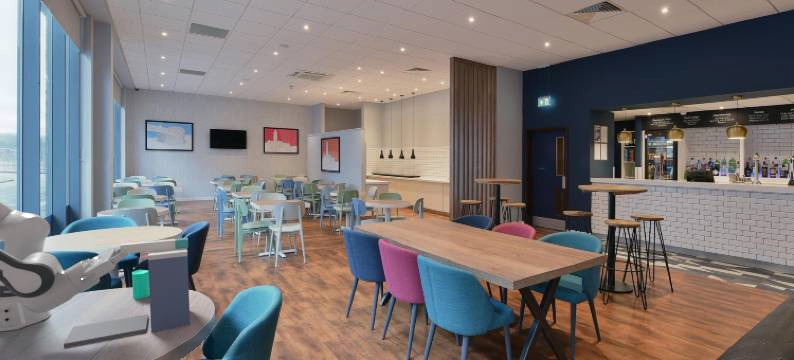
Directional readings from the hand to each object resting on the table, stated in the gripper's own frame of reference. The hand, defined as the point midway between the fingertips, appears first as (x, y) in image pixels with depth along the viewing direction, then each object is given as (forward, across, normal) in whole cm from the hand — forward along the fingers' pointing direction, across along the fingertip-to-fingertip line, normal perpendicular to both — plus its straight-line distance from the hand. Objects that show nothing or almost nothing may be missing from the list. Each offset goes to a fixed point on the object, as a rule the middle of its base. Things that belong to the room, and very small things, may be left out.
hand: (128, 249), depth 136 cm
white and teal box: (+6, 0, +5) cm, 8 cm away
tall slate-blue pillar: (-4, 0, +29) cm, 30 cm away
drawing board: (-19, 0, +20) cm, 28 cm away
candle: (-13, +34, +24) cm, 44 cm away
